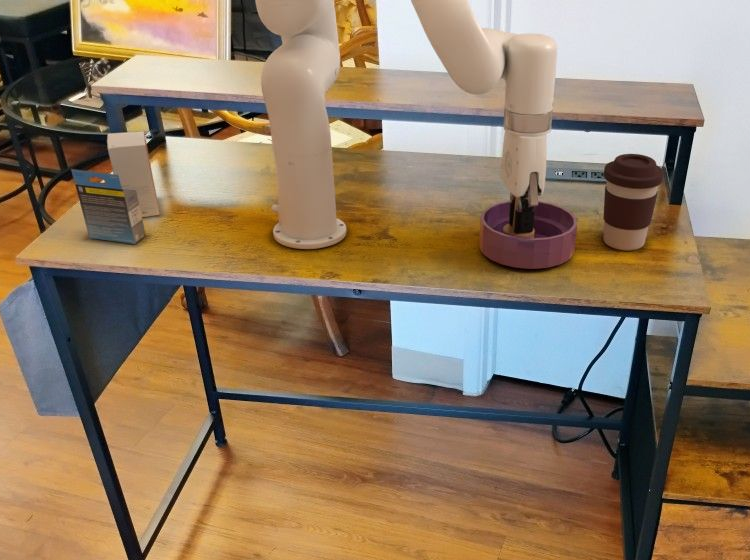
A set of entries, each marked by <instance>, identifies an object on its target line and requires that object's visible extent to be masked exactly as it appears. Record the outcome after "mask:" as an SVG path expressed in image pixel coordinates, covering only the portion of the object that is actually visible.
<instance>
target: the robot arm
mask: <svg viewBox="0 0 750 560" xmlns="http://www.w3.org/2000/svg"><path fill="white" fill-rule="evenodd" d="M254 1H255V6H256V11H257V14H258V17H259V19H260V21H261V23H262V25H264V27H265V28H266V29H267V30H268V31H269V32H271V33H273V34H275V35H277V36H280V38H281V45H280V46H278V47H277V48H276V49H275V50H274V51H272V53H270V55H269V56H268V57H267V59H266V60H265V62H264V64H263V67H262V70H261V75H260V86H261V93H262V97H263V101H264V105H265V108H266V112H267V119H268V123H269V129H270V137H271V145H272V151H273V152H272V153H273V162H274V170H275V178H276V188H277V189H276V190H277V196H278V197H277V198H278V199H277V204H276V203H274V204H272V206H271V207H270V209H271V212H273V213H275V214H277V215H278V222H277V223H276V224H275V225H274V227H273V229H272V233H273V239H274V240H275V241H276V242H277V243H278V244H280V245H282V246H284V247H288V248H292V249H297V250H318V249H322V248H327V247H331V246H333V245H336V244H338V243H340V242H341V241H342V240H344V238H345V237H346V236H347V233H348V232H347V225H346V224H345V222H344V221H343V220H341V219H340V218H338V217H337V203H336V201H337V200H336V189H335V175H334V160H333V158H334V157H333V146H332V136H331V127H330V126H331V125H330V119H329V116H328V111H327V107H326V99H325V98H326V93H327V92H328V90H330V88H331V87H332V86H333V85H334V84H335V82H336V80H337V78H338V76H339V74H340V71H341V70H340V69H341V52H340V51H341V50H340V42H339V33H338V26H337V16H336V15H337V14H336V6H335V0H254ZM410 2H411V4H412V7H413V8H414V11H415V13H416V16H417V17H418V21H419V23H420V25H421V27H422V29H423V31H424V33H425V35H426V37H427V39H428V42H429V43H430V45H431V48H432V49H433V51H434V52H435V54H436V56H437V57H438V59H439V60H440V63H441V64H442V66H443V67H444V69H445V70H446V72H447V74H448V75H449V77H450V78H451V80H452V81H453V82H454V83H455V85H456V86H457V87H458V88H459V89H461V90H462V91H464V92H465V93H468V94H470V95H477V96H478V95H483V94H486V93H489V92H490V91H492V90H493V89H494V88H496V87H497V85H498V84H499V82H500V80H501V79H503V80H504V81H505V87H504V110H503V127H502V128H503V130H504V135H503V143H502V152H501V163H500V178H501V181H502V182H503V184H504V185H505V187H506V188H507V189H508V191H509V192H510V193H509V201H511V202H513V203H510V212H509V225H510V226H513V219H514V209H515V200H516V197H517V198H518V203H517V210H515V220H514V232H515V233H516V234H518V233H530V232H532V231H533V224H534V211H535V206H538V201H539V197H541V196H542V195H543V194H544V191H545V187H546V177H547V176H546V174H547V150H548V149H547V148H548V147H547V135H548V134H549V133H551V132H552V123H553V111H554V110H553V109H554V108H553V107H554V97H555V87H556V73H557V63H558V62H557V61H558V44H557V42H556V40H555V39H554V38H553V37H551V36H550V35H546V34H542V33H527V32H526V33H520V34H519V33H513V32H507V31H503V30H499V29H495V28H491V27H482V26H481V25H480V23H479V21H478V19H477V17H476V16H475V13H474V11H473V9H472V7H471V5H470V3H469V0H410ZM527 190H528V192H526V191H527ZM523 198H528V199H527V200H524V201H523Z"/></svg>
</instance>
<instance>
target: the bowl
mask: <svg viewBox="0 0 750 560" xmlns="http://www.w3.org/2000/svg"><path fill="white" fill-rule="evenodd" d="M510 203H513V202H511V201H510V200H505V201H501V202H497V203H494V204H491V205H490V206H487V207H486V208H485V209H484V210H483V211H482V212H481V214H480V218H479V239H478V241H479V243H478V244H479V245H478V247H479V249H480V251H481V253H482V254H483V255H484V256H485V257H487V258H488V259H489V260H491V261H493V262H495V263H498V264H500V265H503V266H506V267H507V266H508V267H511V268H516V269H525V270H526V269H527V270H534V269H536V270H537V269H548V268H551V267H557V266H559V265H562V264H564V263H566V262H568V261H569V260H570V259H572V257H573V255H575V250H576V242H577V241H576V240H577V230H578V218H577V217H576V215H574V213H573V212H571V211H570V210H568V209H567V208H565V207H563V206H561V205H557V204H555V203H552V202H547V201H541V200H538V206H535V211H534V224H533V228H534V230H535V233H534V238H522V237H515V236H511V235H506V234H503V227H504V226H505V225H506V224H509V212H510Z"/></svg>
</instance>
